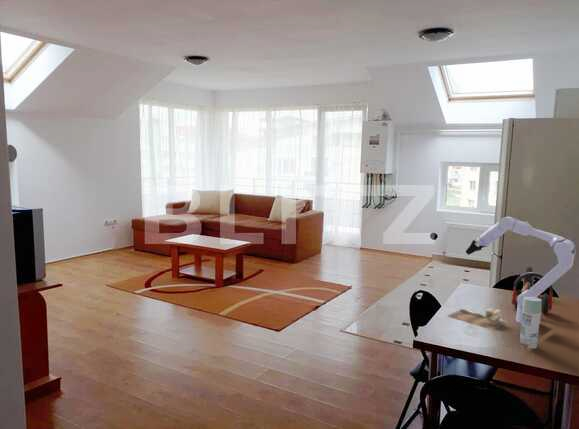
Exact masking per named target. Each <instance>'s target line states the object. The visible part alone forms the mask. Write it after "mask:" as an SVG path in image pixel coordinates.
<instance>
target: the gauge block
mask: <svg viewBox="0 0 579 429" xmlns="http://www.w3.org/2000/svg"><path fill="white" fill-rule="evenodd" d="M484 315H485V324H488V325H492V326H495V325H496V324H498V323H499V320H500V319H501V310H500V309H497V308H493V307H489V308H488V309H486V310H485V314H484Z"/></svg>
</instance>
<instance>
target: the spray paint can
mask: <svg viewBox="0 0 579 429" xmlns="http://www.w3.org/2000/svg"><path fill="white" fill-rule="evenodd" d="M541 306H542V298H539V297H531V296H526V297H524V299H523V310H522V321H521V323H520V332H519V333H520V336H519V342H520V343H521V344H522V345H525V346H526V347H525V349H526V350H527V349H528V350H536V349H537V347H538V340H539V339H538V338H539V332H540V331H539V330H540V324H539V322H540V323H541V319H540V313H541V314H542V310H541Z"/></svg>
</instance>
